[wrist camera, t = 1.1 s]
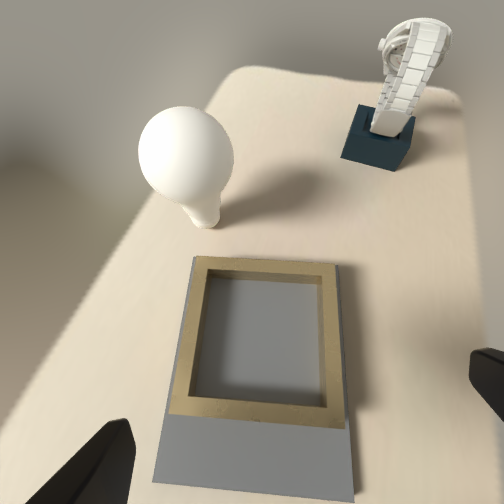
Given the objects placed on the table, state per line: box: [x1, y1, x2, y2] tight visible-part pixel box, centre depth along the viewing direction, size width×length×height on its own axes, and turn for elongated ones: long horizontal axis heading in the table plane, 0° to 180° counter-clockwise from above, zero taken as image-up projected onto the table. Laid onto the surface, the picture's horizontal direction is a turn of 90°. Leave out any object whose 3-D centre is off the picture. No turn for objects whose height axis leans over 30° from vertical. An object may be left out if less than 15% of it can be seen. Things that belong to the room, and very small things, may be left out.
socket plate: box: [152, 256, 355, 503], centre depth 19 cm, size 15×12×3 cm
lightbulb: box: [138, 106, 234, 229], centre depth 20 cm, size 6×6×11 cm
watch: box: [340, 18, 453, 172], centre depth 24 cm, size 6×8×11 cm
